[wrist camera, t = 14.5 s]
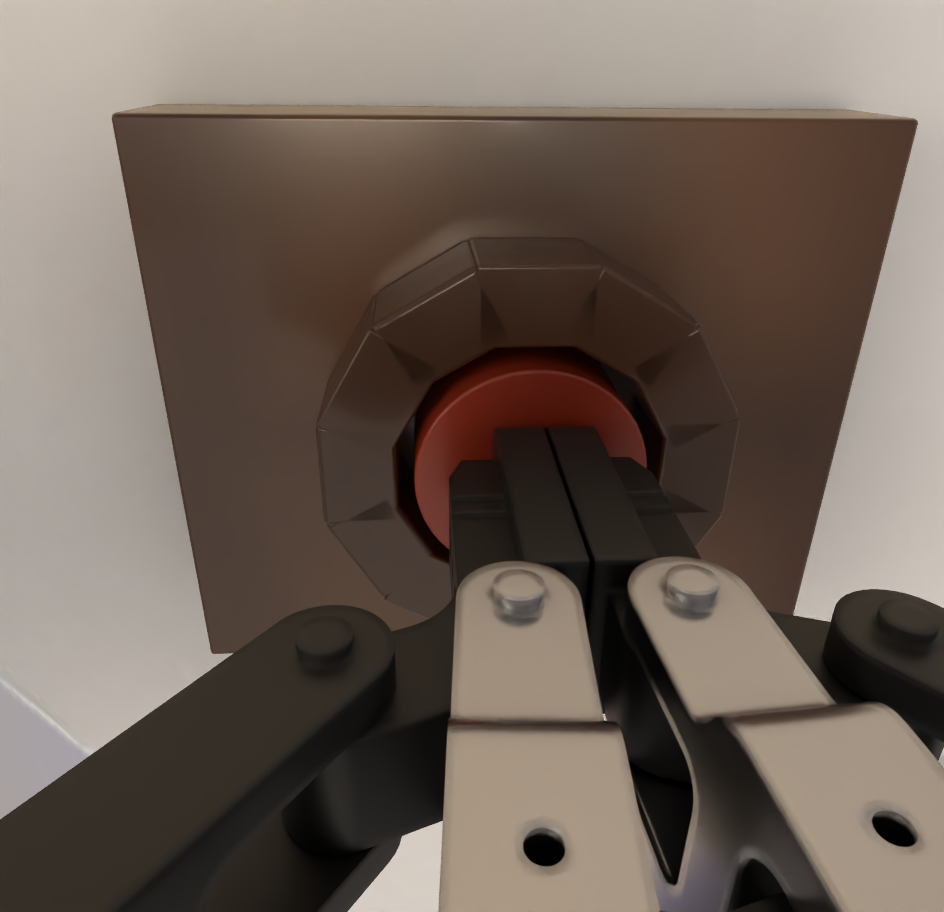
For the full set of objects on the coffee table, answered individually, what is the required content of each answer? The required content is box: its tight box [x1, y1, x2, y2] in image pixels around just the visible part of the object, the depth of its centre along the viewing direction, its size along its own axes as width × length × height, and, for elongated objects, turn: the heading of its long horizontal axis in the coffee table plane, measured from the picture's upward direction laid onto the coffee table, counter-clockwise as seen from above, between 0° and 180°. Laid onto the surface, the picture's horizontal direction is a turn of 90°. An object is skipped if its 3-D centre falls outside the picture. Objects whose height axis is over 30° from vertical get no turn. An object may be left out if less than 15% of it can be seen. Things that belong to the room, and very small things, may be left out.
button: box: [414, 347, 647, 549], centre depth 13 cm, size 4×4×2 cm
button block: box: [112, 104, 918, 654], centre depth 14 cm, size 12×10×4 cm
